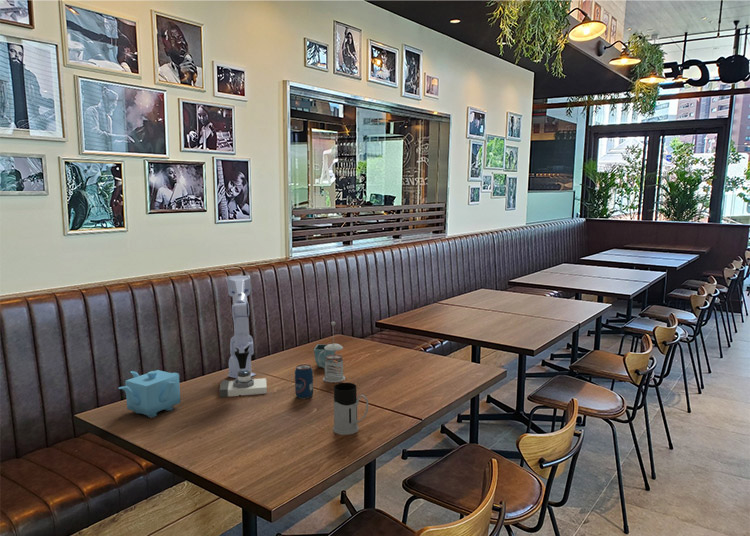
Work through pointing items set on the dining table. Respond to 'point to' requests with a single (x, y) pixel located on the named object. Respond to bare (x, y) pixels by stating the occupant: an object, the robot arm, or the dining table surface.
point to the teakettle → (152, 392)
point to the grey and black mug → (346, 408)
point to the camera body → (242, 387)
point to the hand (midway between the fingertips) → (242, 365)
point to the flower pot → (322, 354)
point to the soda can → (303, 381)
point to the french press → (333, 374)
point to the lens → (244, 377)
